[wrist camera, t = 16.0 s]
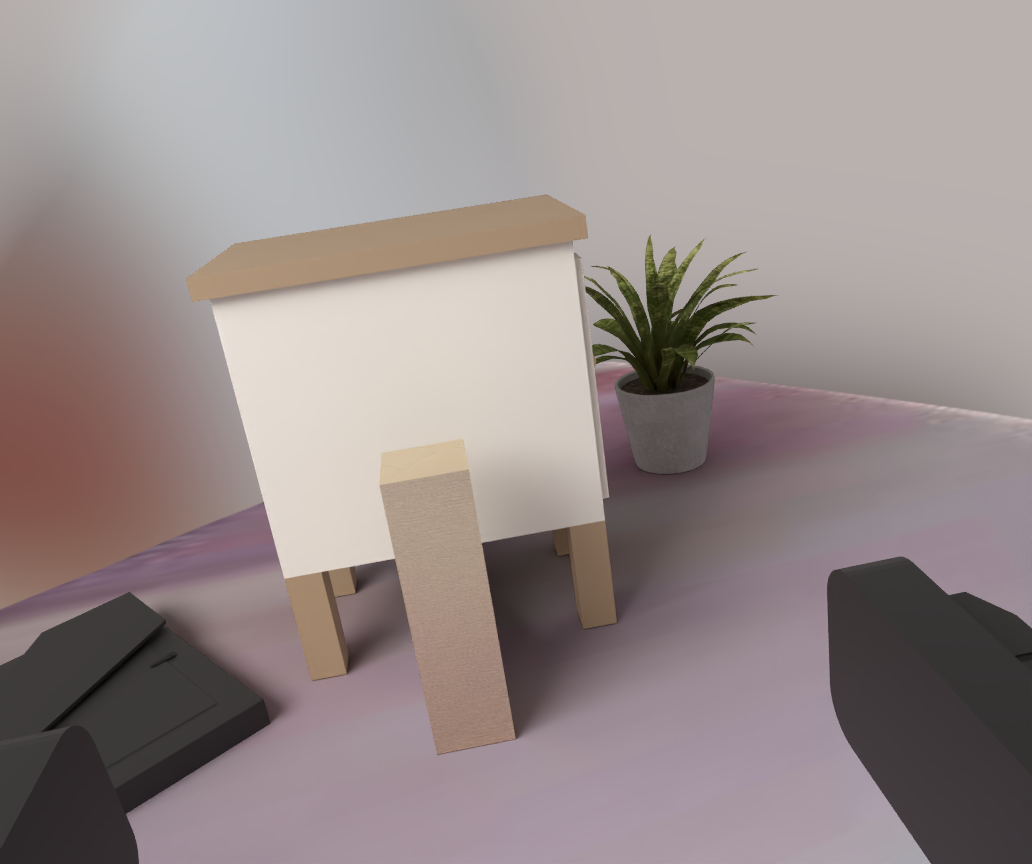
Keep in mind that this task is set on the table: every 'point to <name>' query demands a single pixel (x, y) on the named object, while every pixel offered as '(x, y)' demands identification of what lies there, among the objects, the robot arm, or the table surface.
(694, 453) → the house plant
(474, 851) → the table surface
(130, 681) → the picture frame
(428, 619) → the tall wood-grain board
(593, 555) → the cabinet
